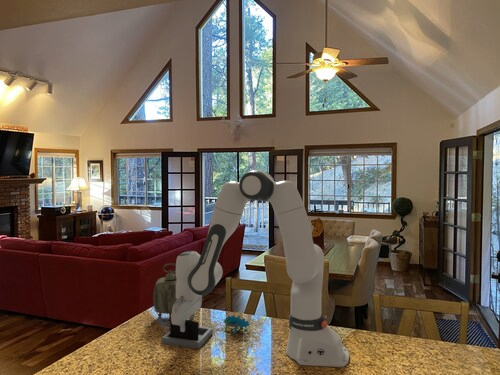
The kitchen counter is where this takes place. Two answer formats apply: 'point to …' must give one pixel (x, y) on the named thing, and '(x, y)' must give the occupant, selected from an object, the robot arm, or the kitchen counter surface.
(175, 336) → the digital camera
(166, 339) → the tray
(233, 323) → the blue lumpy piece
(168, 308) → the tabletop clock
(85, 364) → the kitchen counter surface
